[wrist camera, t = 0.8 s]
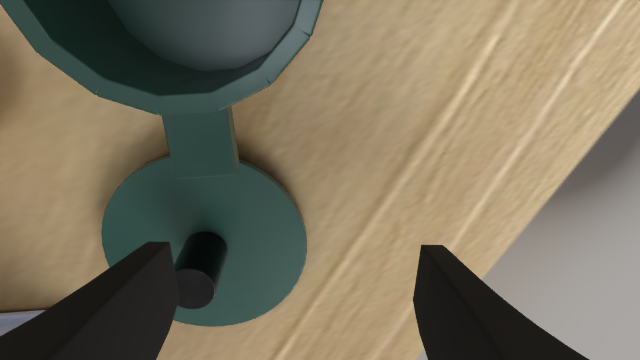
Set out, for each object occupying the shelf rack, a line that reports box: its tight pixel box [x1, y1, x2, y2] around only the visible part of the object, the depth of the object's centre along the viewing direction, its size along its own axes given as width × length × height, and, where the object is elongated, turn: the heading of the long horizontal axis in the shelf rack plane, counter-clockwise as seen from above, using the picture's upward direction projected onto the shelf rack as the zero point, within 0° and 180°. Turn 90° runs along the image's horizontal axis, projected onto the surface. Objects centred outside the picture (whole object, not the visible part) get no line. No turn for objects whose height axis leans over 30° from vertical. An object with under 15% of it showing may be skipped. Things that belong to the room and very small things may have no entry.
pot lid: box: [102, 155, 307, 326], centre depth 21 cm, size 11×11×5 cm
